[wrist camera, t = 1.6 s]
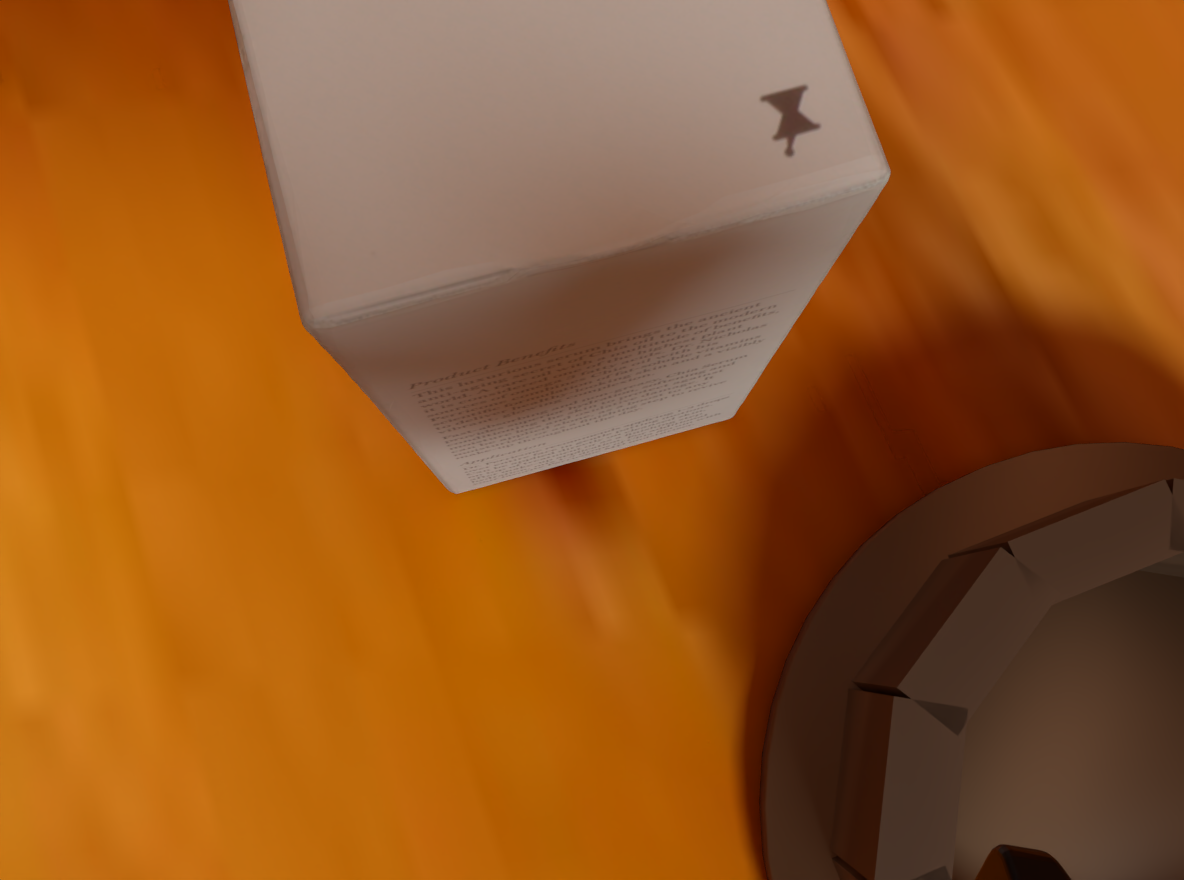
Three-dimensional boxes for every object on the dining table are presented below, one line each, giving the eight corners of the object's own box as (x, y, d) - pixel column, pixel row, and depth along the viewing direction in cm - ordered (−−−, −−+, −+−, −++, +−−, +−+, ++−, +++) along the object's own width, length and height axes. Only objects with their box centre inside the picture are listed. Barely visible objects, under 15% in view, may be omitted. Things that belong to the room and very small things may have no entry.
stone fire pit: (712, 1149, 20) (744, 1263, 17) (806, 399, 23) (853, 351, 19) (1484, 1274, 20) (1692, 1418, 16) (1495, 507, 23) (1676, 481, 19)
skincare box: (676, 227, 23) (782, -192, 12) (736, 421, 23) (915, 184, 11) (391, 302, 23) (204, -54, 11) (443, 502, 22) (302, 347, 11)
